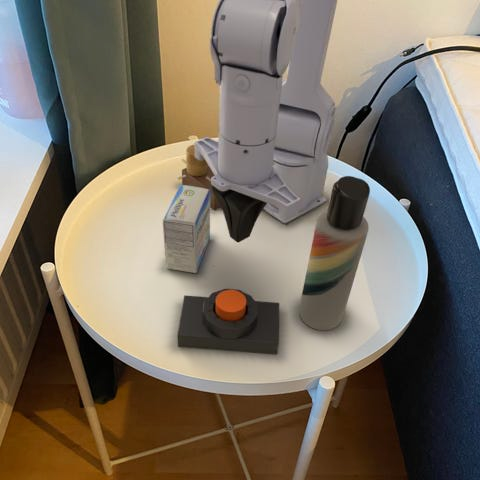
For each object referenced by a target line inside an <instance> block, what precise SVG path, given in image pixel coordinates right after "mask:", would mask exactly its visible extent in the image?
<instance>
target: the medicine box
mask: <svg viewBox="0 0 480 480" xmlns="http://www.w3.org/2000/svg"><path fill="white" fill-rule="evenodd" d="M162 235H163V245H164V258H165V259H164V260H165V266H166V267H165V268H166V269H170V270H174V271H181V272H186V273H193V274H197V273H198V272H199V271H198V270H199V268H200V265H201V263H202V260H203V258H204V254H205V252H206V250H207V247H208V244H209V242H210V239H211V207H210V190H208V189H204V188H199V187H194V186H186V185H182V184H180V185H179V186H178V188H177V191H176V192H175V194H174V197H173V199H172V201H171V203H170V205H169V206H168V209H167V210H166V213H165V215H164V217H163V219H162Z"/></svg>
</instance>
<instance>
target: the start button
mask: <svg viewBox="0 0 480 480" xmlns="http://www.w3.org/2000/svg"><path fill="white" fill-rule="evenodd" d="M215 311H216V314H217V316H218V317H219V318H220V319H222V320H224V321H230V322H234V321H238V320H240V319H241V318H242V317H243V316H244V315H245V311H246V298H245V296H244V295H243V294H242V293H240V292H238V291H235V290H226V291H223V292H221V293H219V294H218V296H217V297H216V309H215Z"/></svg>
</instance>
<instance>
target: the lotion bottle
mask: <svg viewBox="0 0 480 480" xmlns="http://www.w3.org/2000/svg"><path fill="white" fill-rule="evenodd" d="M370 188H371V187H370V185H369V183H368V182H367V181H366V180H364V179H362V178H359V177H355V176H351V175H345V176H342V177H340V178H339V179H338V180H337V181H335V182H334V183H333V185H332V190H331V194H330V198H329V203H328V208H326V209H324V210H323V211H322V212H320V214H319V215H318V216H317V219H316V223H315V228H314V232H313V237H312V241H311V242H312V243H311V248H310V253H309V257H308V262H307V266H306V267H307V268H306V272H305V278H304V282H303V286H302V287H303V288H302V292H301V297H300V302H299V309H298V313H299V318H300V320H302V322H303V323H304V324H305V325H306V326H308V328H309V327H310V328H311V329H314V330H317V331H329V330H332V329H335V328H336V327H338V326H339V325H340V324H341V322H342V320H343V318H344V315H345V311H346V309H347V305H348V302H349V298H350V295H351V291H352V288H353V285H354V281H355V277H356V274H357V271H358V268H359V265H360V261H361V257H362V254H363V250H364V248H365V244H366V240H367V236H368V233H369V222H368V220H367V218H366V217H365V216H364V215H365V212H366V208H367V204H368V200H369V198H370V193H371V189H370Z"/></svg>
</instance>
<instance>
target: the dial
mask: <svg viewBox="0 0 480 480" xmlns="http://www.w3.org/2000/svg"><path fill="white" fill-rule="evenodd" d="M185 153H186V155H185V158H186V160H185V161H186V162H187V164H186V168H187V172H188V174H190V175H192V176H202V175H205V174H206V173H207V162H206V160H205V159H204V160H202V161H200V160H198V159H197V158H195V144H191V145H189V146H187V147H186V150H185Z"/></svg>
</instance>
